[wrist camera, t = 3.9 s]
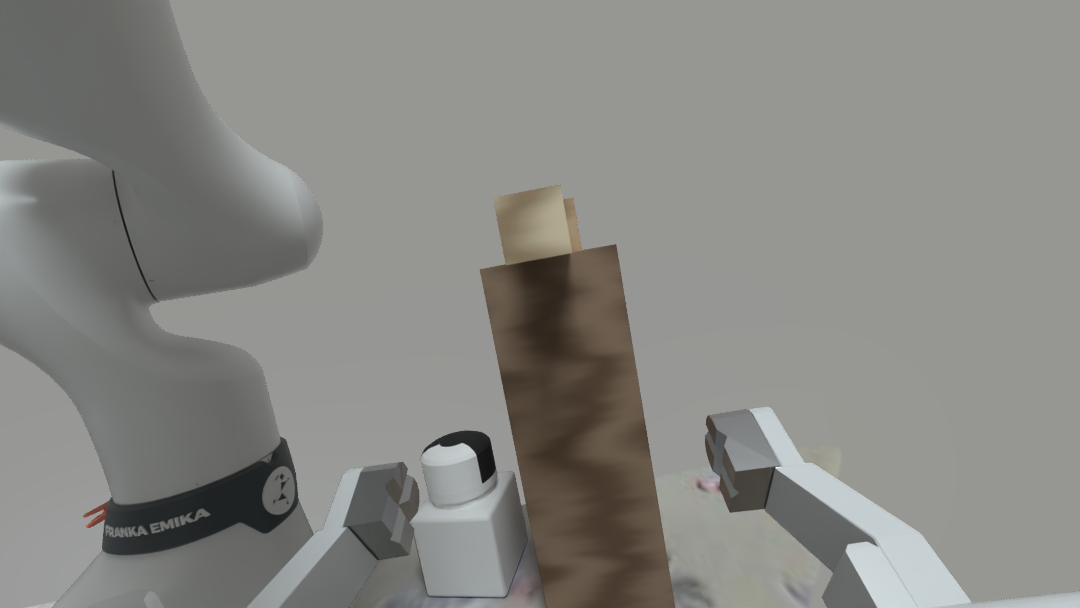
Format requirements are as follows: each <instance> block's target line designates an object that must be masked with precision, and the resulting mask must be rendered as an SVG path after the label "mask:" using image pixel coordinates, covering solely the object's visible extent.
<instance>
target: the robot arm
mask: <svg viewBox="0 0 1080 608" xmlns="http://www.w3.org/2000/svg"><path fill="white" fill-rule="evenodd" d="M0 126H2V127H4V128H6V129H9V130H11V131H14V132H17V133H20V134H23V135H26V136H29V137H32V138H35V139H38V140H42V141H45V142H48V143H51V144H54V145H58V146H61V147H64V148H67V149H69V150H73V151H75V152H78V153H80V154H83V155H85V156H87V157H90V158H92V159H63V160H62V159H61V160H60V159H59V160H5V161H4V160H2V161H1V160H0V344H1V345H2V346H4V347H6V348H8V349H10V350H12V351H14V352H16V353H18V354H20V355H21V356H22V357H24V358H26V359H27V360H29V361H30V362H32V363H33V364H35V365H36V366H37V367H39V368H40V369H41V370H42V371H44V372H45V373H46V374H48V375H49V376H50V377H51V378H52V379H53V380H54V381H55V382H56V383H57V384H58V385H59V386H60V387H61V388H62V389H63V390H64V391H65V392H66V393H67V395H68V396H69V397H70V399H71V400H72V402H73V403H74V405H75V406H76V408H77V410H78V411H79V413H80V415H81V417H82V419H83V421H84V424H85V426H86V428H87V430H88V432H89V435H90V436H91V439H92V441H93V444H94V447H95V449H96V451H97V454H98V456H99V459H100V462H101V465H102V467H103V470H104V473H105V476H106V479H107V482H108V485H109V489H110V492H111V495H112V498H111V499H110V500H109V501H108V502H106V503H104V504H103V505H101V506H99V507H97V508H95V509H93V510H92V511H90V512H88V513H86V514H85V515H84V516H83V517H88V516H90V515H92V514H94V513H97V512H99V511H101V510H103V509H104V512H103V513H102V514H101V515H99V516H97V517H96V518H95V519H94V520H92V521H91V522H90V523H89V524H88V525H86V527H87V528H90V527H92V526H94V525H96V524H97V523H99V522H101V521H103V520H105V523H104V534H103V543H102V549H103V550H102V551H101V552H100V554H99V555H98V556H97V557H96V558H95V559H94V561H93V562H92V563H91V564H90V565H89V567H87V569H86V570H85V571H84V572H83V573H82V574H81V576H80V577H79V578H78V579H77V580H76V581H75V582H74V583H73V585H72V586H71V587H70V588H69V589H68V590H67V591H66V592H65V593H64V594H63V596H62V597H61V598H60V599H59V600H58V601H57V602H56V603H55V604H54V606H53V607H52V608H349V606H350V605H351V603H352V602H353V600H354V599H355V597H356V596H357V594H358V593H359V591H360V590H361V588H362V587H363V585H364V584H365V582H366V581H367V579H368V578H369V576H370V575H371V573H372V572H373V570H374V569H375V567H376V566H377V564H378V563H379V561H378V560H382V559H388V558H395V557H401V556H407V555H409V554H410V548H411V543H412V538H413V533H414V528H413V526H412V524H411V522H410V521H411V520H412V519H413V518H414V516H415V515H416V514H417V512H418V507H419V489H418V485H417V483H416V481H415V479H414V478H413V477H411V476H409V475H407V470H408V468H407V467H406V465H405V464H404V463H403V462H398V463H391V464H384V465H376V466H369V467H360V468H353V469H347V470H346V471H345V473H344V474H343V475H342V477H341V480H340V483H339V486H338V489H337V491H336V494H335V497H334V499H333V502H332V505H331V508H330V510H329V513H328V516H327V519H326V521H325V524H324V527H323V530H321V531H317V532H316V533H315V534H313V531H312V529H311V527H310V525H309V523H308V520H307V518H306V516H305V514H304V511H303V509H302V506H301V504H300V502H299V499H298V492H297V481H296V473H295V469H294V465H293V462H292V458H291V455H290V451H289V448H288V445H287V442H286V439H284V438H282V437H280V436H279V432H278V428H277V424H276V420H275V416H274V412H273V408H272V404H271V401H270V397H269V393H268V389H267V385H266V381H265V377H264V374H263V370H262V367H261V366H260V364H259V363H258V361H257V360H256V359H255V358H254V357H253V356H251V355H250V354H249V353H248V352H246V351H244V350H242V349H240V348H238V347H235V346H231V345H228V344H224V343H220V342H215V341H210V340H204V339H198V338H192V337H184V336H179V335H174V334H171V333H168V332H166V331H164V330H163V329H161V328H160V327H159V326H158V325H157V324H156V323H155V321H154V320H153V318H152V316H151V314H150V311H149V307H150V306H151V305H152V304H155V303H159V302H160V301H166V300H172V299H178V298H185V297H190V296H197V295H203V294H209V293H216V292H222V291H228V290H234V289H241V288H247V287H253V286H256V285H259V284H263V283H266V282H269V281H272V280H276V279H279V278H282V277H284V276H287V275H290V274H293V273H296V272H298V271H301V270H304V269H306V268H307V267H308V266H309V265H310V264H311V263H312V261H313V260H314V258H315V257H316V255H317V252H318V250H319V248H320V245H321V241H322V235H323V221H322V215H321V211H320V208H319V205H318V203H317V201H316V199H315V197H314V195H313V193H312V192H311V191H310V189H309V188H308V186H307V185H306V184H305V182H303V180H302V179H301V178H300V177H299V176H298V175H296V174H295V173H294V172H293V171H292V170H290V169H289V168H288V167H286V166H285V165H283V164H280V163H278V162H276V161H274V160H272V159H270V158H268V157H266V156H265V155H263V154H262V153H260V152H258V151H257V150H255V149H254V148H253V147H251V146H250V145H248V144H247V143H246V142H245V141H243V140H242V139H241V138H240V137H239V136H238V135H236V134H235V133H234V132H233V131H232V130H231V129H230V128H229V127H228V126H227V125H226V124H225V123H224V122H223V121H222V119H221V118H220V117H219V116H218V115H217V113H216V112H215V111H214V110H213V108H212V107H211V105H210V104H209V102H208V101H207V99H206V98H205V96H204V94H203V92H202V91H201V89H200V87H199V85H198V83H197V81H196V79H195V76H194V74H193V72H192V69H191V66H190V64H189V61H188V58H187V55H186V53H185V50H184V47H183V44H182V41H181V38H180V35H179V32H178V29H177V26H176V23H175V19H174V16H173V13H172V9H171V6H170V2H169V0H0ZM706 425H707V428H708V430H709V432H708V433H707V434H706V435H705V446H706V452H707V456H708V459H709V462H710V465H711V468H712V470H713V472H715V473H716V474H717V475H719V476H720V487H719V488H720V490H721V492H722V495H723V497H724V500H725V502H726V505H727V507H728V509H729V512H730V513H731V512H740V511H750V510H759V509H765V511H766V512H767V513H768V514H769V515H770V516H771V517H772V518H773V519H775V520H776V521H777V522H778V523H779V524H780V525H781V526H782V527H783V528H784V529H786V530H787V531H788V532H789V533H790V534H791V535H792V536H793V537H794V538H795V539H797V540H798V541H799V542H800V543H801V544H802V545H803V546H804V547H805V548H807V549H808V550H809V551H810V552H811V553H812V554H813V555H814V556H815V557H816V558H818V559H819V560H820V561H821V562H822V563H823V564H824V565H825V566H826V567H827V568H829V569H830V570H831V571H832V572H833V575H832V577H831V580H830V581H829V583H828V585H827V587H826V590H825V591H824V594H823V596H822V598H823V600H824V603H825V605H826V606H827V608H1080V591H1072V592H1063V593H1054V594H1045V595H1036V596H1027V597H1018V598H1009V599H1000V600H992V601H983V602H974V603H972V602H971V601H970V600H969V598H968V597H967V596H966V594H965V593H964V592H963V590H962V589H961V588H960V586H959V585H958V583H957V582H956V581H955V579H954V578H953V577H952V575H951V574H950V573H949V571H948V570H947V569H946V567H945V566H944V564H943V563H942V562H941V561H940V559H939V558H938V556H937V555H936V554H935V552H934V551H933V550H932V548H931V547H930V545H929V544H928V543H927V541H926V540H925V539H924V537H923V536H922V535H921V533H919V532H917V531H916V530H914V529H913V528H911V527H909V526H908V525H907V524H905V523H904V522H902V521H900V520H899V519H897V518H896V517H894V516H893V515H891V514H890V513H888V512H887V511H885V510H884V509H882V508H881V507H879V506H878V505H876V504H875V503H873V502H871V501H870V500H868V499H867V498H865V497H864V496H862V495H861V494H859V493H858V492H856V491H855V490H853V489H851V488H850V487H848V486H847V485H845V484H844V483H842V482H841V481H839V480H838V479H836V478H835V477H833V476H832V475H830V474H828V473H827V472H825V471H824V470H822V469H821V468H819V467H818V466H816V465H815V464H813V463H812V462H810V463H805V462H804V460H803V459H802V457H801V456H800V454H799V452H798V451H797V449H796V447H795V446H794V444H793V442H792V441H791V439H790V438H789V436H788V434H787V433H786V431H785V429H784V428H783V426H782V425H781V423H780V421H779V420H778V418H777V416H776V415H775V413H774V411H773V410H772V409H771V408H770V407H760V408H755V409H749V410H746V409H744V410H738V411H732V412H726V413H720V414H714V415H709V416H708V417H707V419H706Z"/></svg>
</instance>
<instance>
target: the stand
mask: <svg viewBox="0 0 1080 608" xmlns="http://www.w3.org/2000/svg"><path fill="white" fill-rule="evenodd" d="M480 273H481V278H482V283H483V288H484V293H485V298H486V303H487V308H488V313H489V318H490V323H491V329H492V334H493V339H494V344H495V349H496V354H497V359H498V364H499V369H500V374H501V379H502V384H503V389H504V394H505V400H506V404H507V410H508V415H509V420H510V425H511V430H512V435H513V440H514V445H515V450H516V455H517V460H518V465H519V470H520V476H521V480H522V486H523V490H524V496H525V501H526V506H527V511H528V516H529V521H530V526H531V531H532V536H533V541H534V547H535V552H536V557H537V562H538V567H539V572H540V577H541V582H542V587H543V592H544V597H545V602H546V607H547V608H675V603H674V597H673V591H672V585H671V579H670V573H669V566H668V560H667V554H666V548H665V542H664V536H663V530H662V523H661V517H660V511H659V505H658V499H657V493H656V486H655V480H654V474H653V468H652V462H651V456H650V450H649V444H648V437H647V431H646V425H645V419H644V413H643V407H642V400H641V394H640V388H639V382H638V376H637V370H636V364H635V357H634V352H633V346H632V339H631V333H630V327H629V321H628V314H627V308H626V302H625V296H624V290H623V283H622V277H621V271H620V265H619V259H618V253H617V247H616V244H615V245H609V246H603V247H597V248H592V249H586V250H582V251H576V252H572V253H570V254H564V255H559V256H554V257H548V258H543V259H537V260H532V261H526V262H521V263H515V264H510V265H506V264H505V265H500V266H495V267H490V268H485V269H480Z"/></svg>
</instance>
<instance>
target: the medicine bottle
mask: <svg viewBox="0 0 1080 608" xmlns="http://www.w3.org/2000/svg"><path fill="white" fill-rule="evenodd" d="M420 459H421V463H422V468H423V473H424V477H425V481H426V486H427V491H428V495H429V498H428V499H427V500H426V501H425V503H424V504H423V505H422V506H421V507H420V509H419V510H418V512H417V514H416V515H415V516H414V518H413V519H412V520H411V524H412V526H413V528H414V538H415V542H416V547H417V551H418V555H419V560H420V564H421V568H422V573H423V577H424V582H425V586H426V590H427V594H428V595H429V596H442V597H505V596H506V595H507V593H508V591H509V588H510V585H511V583H512V580H513V577H514V575H515V572H516V569H517V567H518V564H519V561H520V559H521V556H522V553H523V551H524V548H525V545H526V542H527V533H526V528H525V523H524V518H523V513H522V508H521V503H520V498H519V493H518V488H517V483H516V478H515V474H514V472H512V471H507V472H497V471H496V466H495V461H494V456H493V451H492V446H491V442H490V438H489V437H488V436H487V435H485V434H484V433H482V432H478V431H459V432H455V433H451V434H448V435H445V436H443V437H441V438H439V439H437V440H435V441H434V442H433V443H432V444H430V445H429V446H427V447H426V448H425V450H424V451H423V453H422V455H421V458H420Z"/></svg>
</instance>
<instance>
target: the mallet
mask: <svg viewBox="0 0 1080 608" xmlns="http://www.w3.org/2000/svg"><path fill="white" fill-rule="evenodd" d="M493 200H494V206H495V211H496V216H497V221H498V226H499V231H500V236H501V242H502V247H503V253H504V258H505V263H506V265H510V264H515V263H521V262H526V261H532V260H537V259H543V258H548V257H554V256H559V255H564V254H570V253H572V252H576V251H582V247H581V241H580V235H579V229H578V224H577V217H576V211H575V206H574V200H573V198H568V199H564V200H563V196H562V191H561V185H555V186H550V187H545V188H540V189H535V190H530V191H525V192H520V193H514V194H509V195H504V196H499V197H494V198H493Z"/></svg>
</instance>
